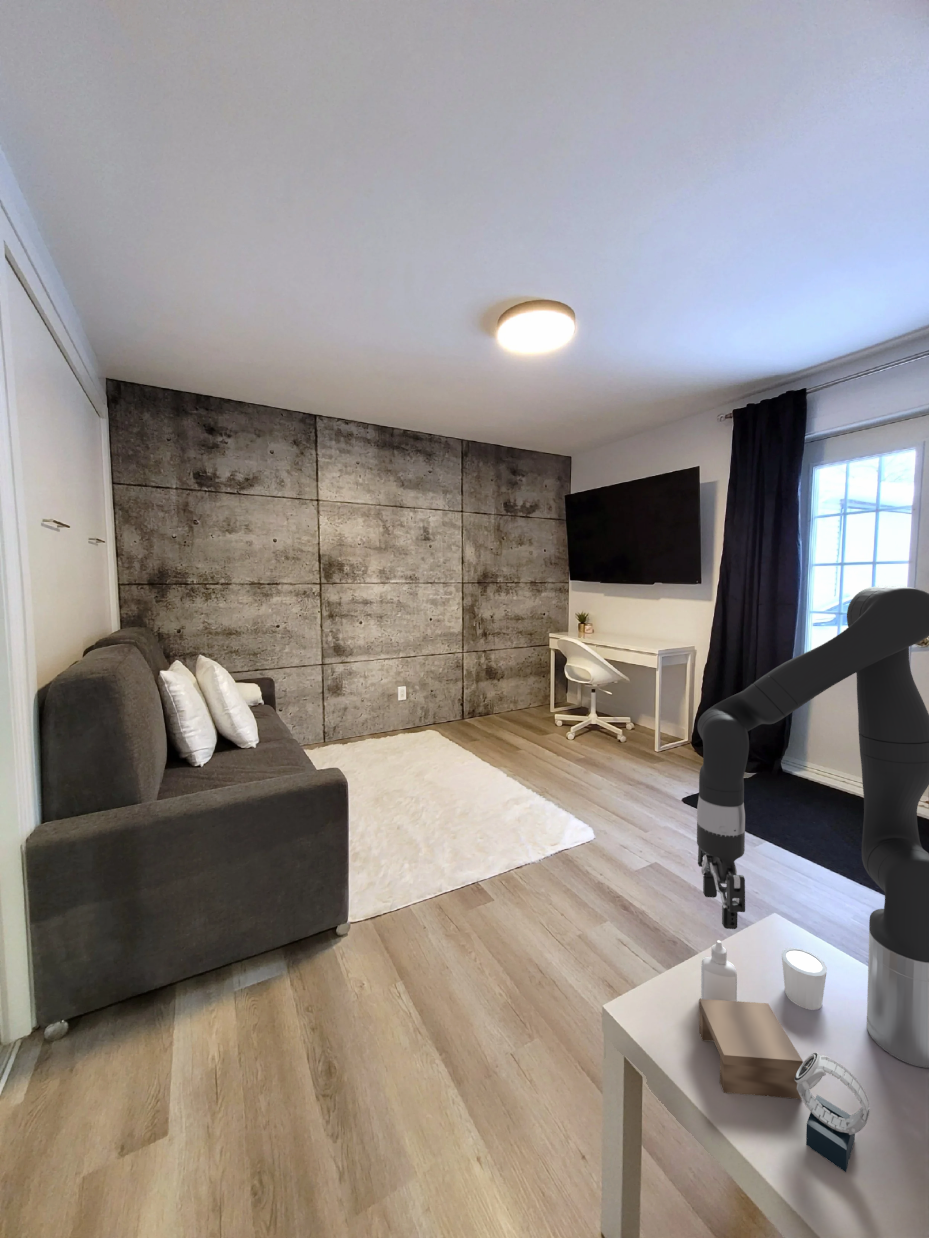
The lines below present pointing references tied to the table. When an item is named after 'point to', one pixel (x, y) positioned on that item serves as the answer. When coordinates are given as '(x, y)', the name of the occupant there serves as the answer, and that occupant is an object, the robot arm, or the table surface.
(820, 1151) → the watch
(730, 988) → the eye dropper bottle
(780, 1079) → the brown wooden block
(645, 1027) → the table surface
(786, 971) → the white oval container
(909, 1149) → the table surface
